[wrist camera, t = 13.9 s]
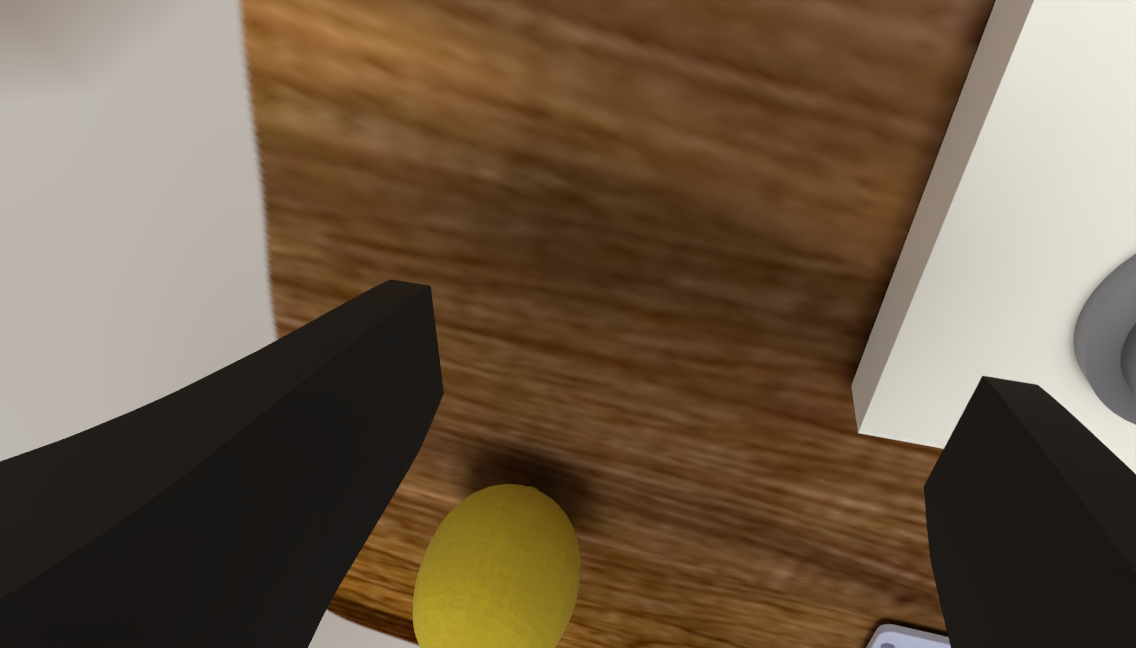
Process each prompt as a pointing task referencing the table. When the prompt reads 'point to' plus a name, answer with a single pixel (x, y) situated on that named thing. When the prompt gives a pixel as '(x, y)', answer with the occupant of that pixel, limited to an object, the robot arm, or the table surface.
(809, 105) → the table surface
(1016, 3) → the notched board
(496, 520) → the lemon
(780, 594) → the table surface
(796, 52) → the table surface
